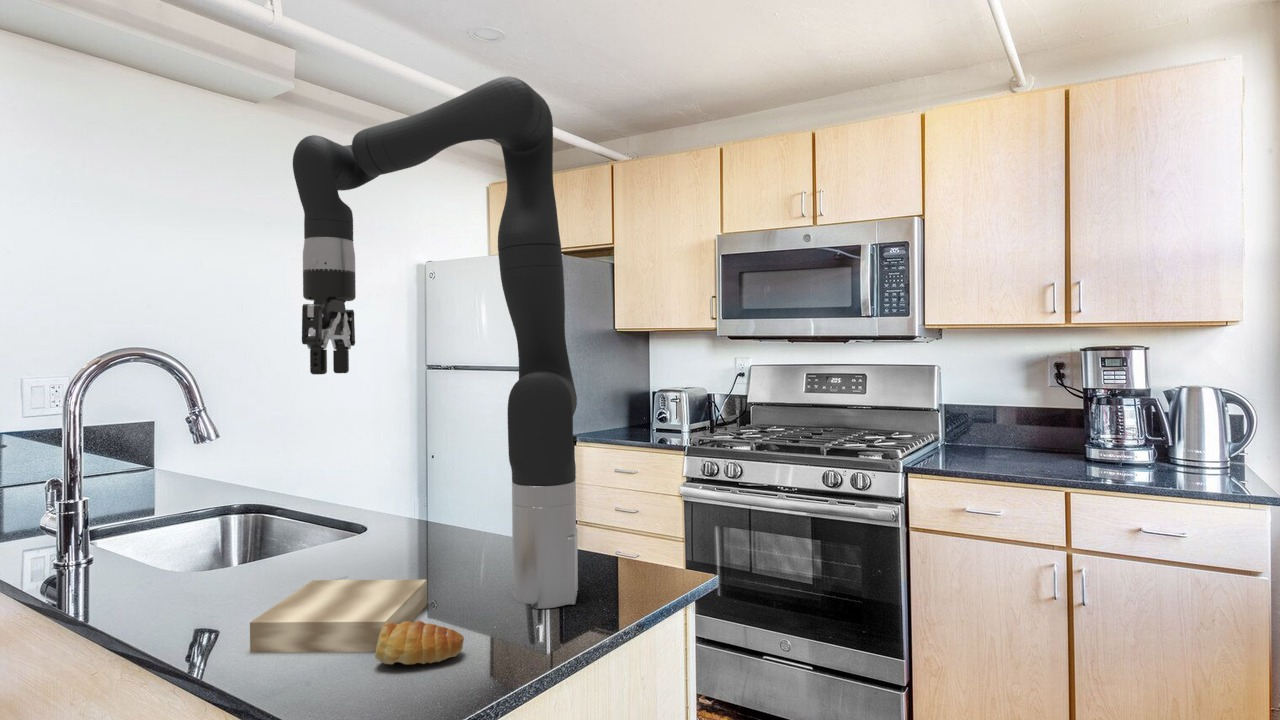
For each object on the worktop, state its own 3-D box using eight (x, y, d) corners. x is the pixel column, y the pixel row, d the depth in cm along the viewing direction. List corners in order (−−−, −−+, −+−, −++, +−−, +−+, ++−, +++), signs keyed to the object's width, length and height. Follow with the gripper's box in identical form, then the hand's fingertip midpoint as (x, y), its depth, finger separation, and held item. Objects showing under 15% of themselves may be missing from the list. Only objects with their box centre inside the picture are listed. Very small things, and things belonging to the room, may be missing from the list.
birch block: (427, 608, 100) (426, 579, 100) (385, 655, 84) (385, 621, 84) (312, 608, 101) (312, 580, 101) (250, 656, 85) (249, 622, 85)
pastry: (466, 644, 86) (467, 612, 86) (458, 666, 79) (458, 631, 79) (386, 647, 85) (386, 614, 85) (370, 670, 78) (370, 634, 78)
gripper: (335, 263, 105) (336, 374, 105) (369, 274, 119) (370, 372, 119) (283, 264, 105) (284, 375, 105) (324, 275, 119) (325, 373, 119)
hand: (330, 373), depth 112 cm, fingers open, 8 cm apart
